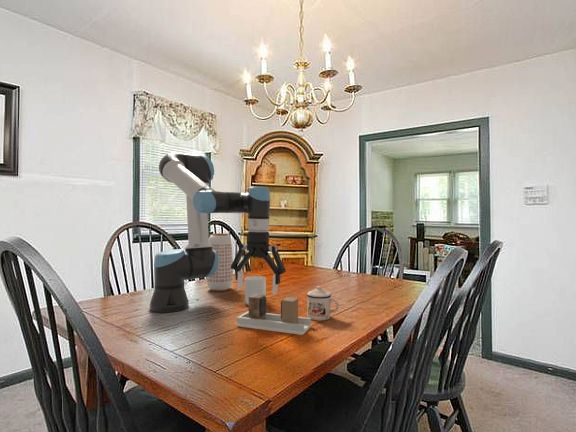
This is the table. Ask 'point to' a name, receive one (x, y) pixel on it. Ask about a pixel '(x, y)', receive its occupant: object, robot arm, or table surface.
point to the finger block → (257, 306)
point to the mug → (254, 287)
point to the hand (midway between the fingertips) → (257, 291)
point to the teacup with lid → (319, 304)
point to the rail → (279, 319)
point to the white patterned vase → (221, 262)
